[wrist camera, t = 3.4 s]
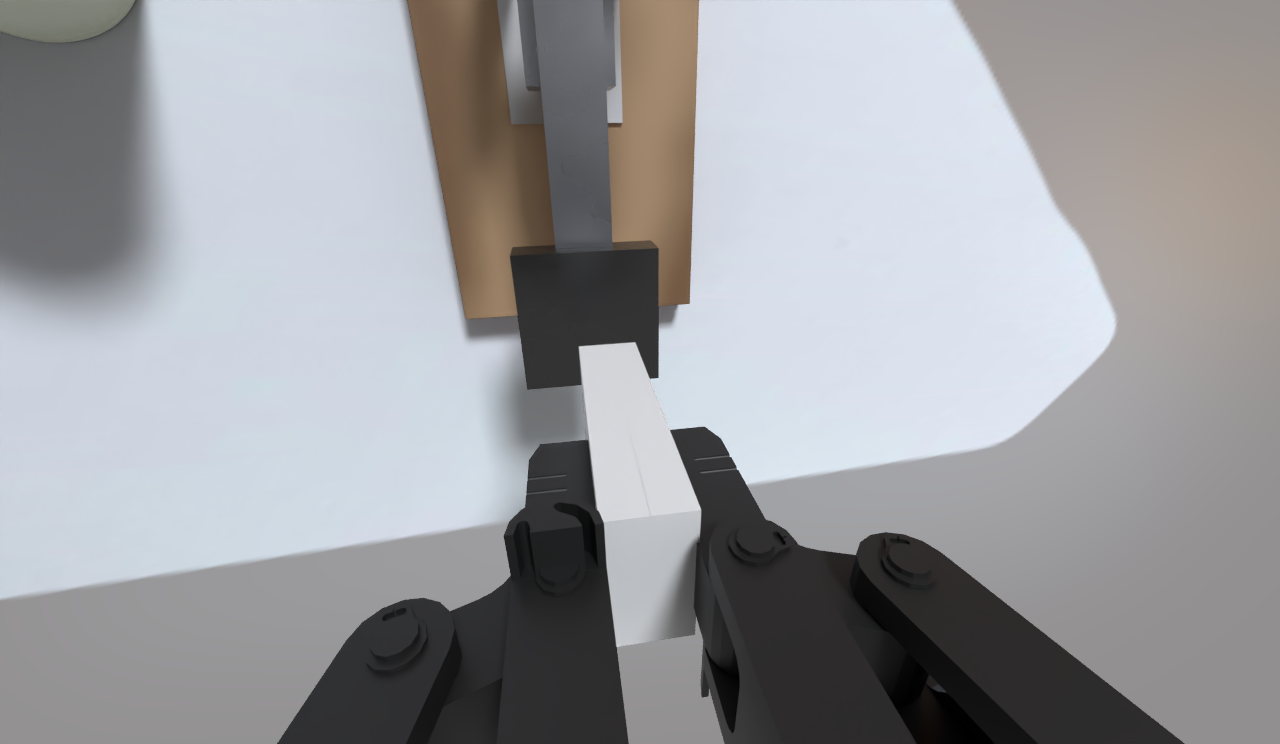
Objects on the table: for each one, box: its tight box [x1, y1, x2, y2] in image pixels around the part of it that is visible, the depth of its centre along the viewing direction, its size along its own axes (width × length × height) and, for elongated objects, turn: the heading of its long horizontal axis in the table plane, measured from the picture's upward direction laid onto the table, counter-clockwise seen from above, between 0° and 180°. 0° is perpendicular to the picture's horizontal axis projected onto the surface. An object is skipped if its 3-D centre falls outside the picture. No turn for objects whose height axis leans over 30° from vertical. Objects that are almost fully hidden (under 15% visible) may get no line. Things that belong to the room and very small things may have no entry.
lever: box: [510, 0, 659, 390], centre depth 17 cm, size 5×17×4 cm, turn 1°
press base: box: [407, 0, 699, 319], centre depth 19 cm, size 12×18×11 cm, turn 1°
